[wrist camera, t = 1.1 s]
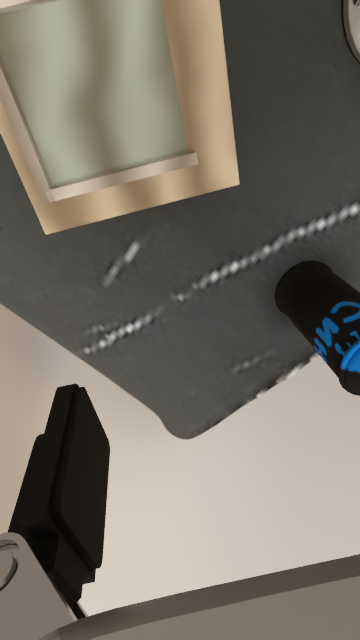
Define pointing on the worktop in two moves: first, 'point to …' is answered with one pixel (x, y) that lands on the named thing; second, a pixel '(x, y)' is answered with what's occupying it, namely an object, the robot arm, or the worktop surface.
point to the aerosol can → (325, 317)
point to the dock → (114, 105)
